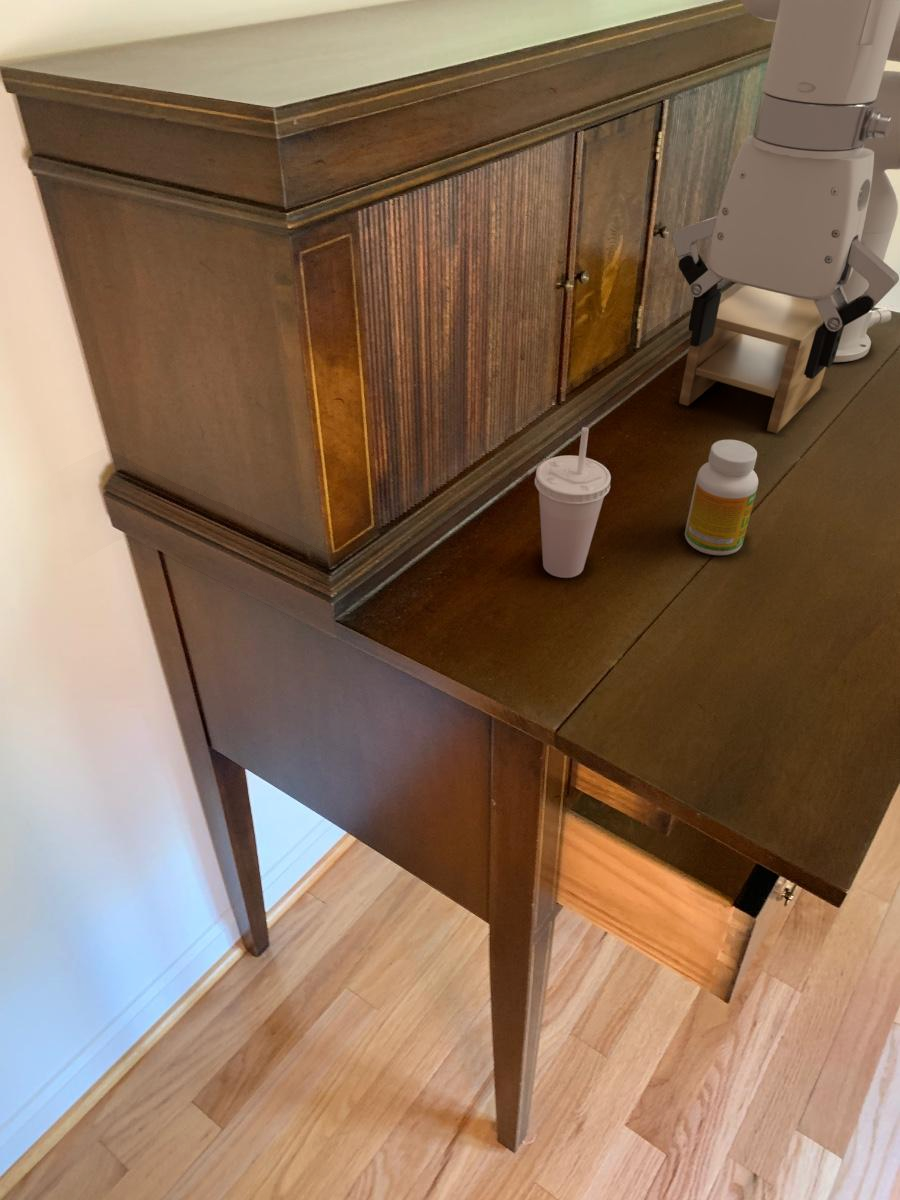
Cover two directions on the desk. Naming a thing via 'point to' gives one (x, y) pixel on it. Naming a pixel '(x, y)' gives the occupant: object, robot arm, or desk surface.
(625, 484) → the desk surface
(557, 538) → the smoothie
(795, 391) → the shelf stand
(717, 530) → the supplement bottle
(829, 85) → the robot arm
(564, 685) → the desk surface
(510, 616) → the desk surface
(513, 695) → the desk surface
